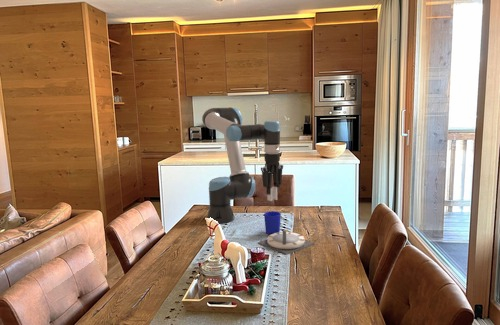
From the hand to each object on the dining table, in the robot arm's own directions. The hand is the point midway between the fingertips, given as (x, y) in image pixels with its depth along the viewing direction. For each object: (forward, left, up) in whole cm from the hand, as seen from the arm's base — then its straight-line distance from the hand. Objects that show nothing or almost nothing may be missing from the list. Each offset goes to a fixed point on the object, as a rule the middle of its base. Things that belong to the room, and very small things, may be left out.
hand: (272, 199), depth 187 cm
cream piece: (+16, -7, -16) cm, 24 cm away
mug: (0, 0, -17) cm, 17 cm away
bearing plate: (+16, -7, -16) cm, 24 cm away
